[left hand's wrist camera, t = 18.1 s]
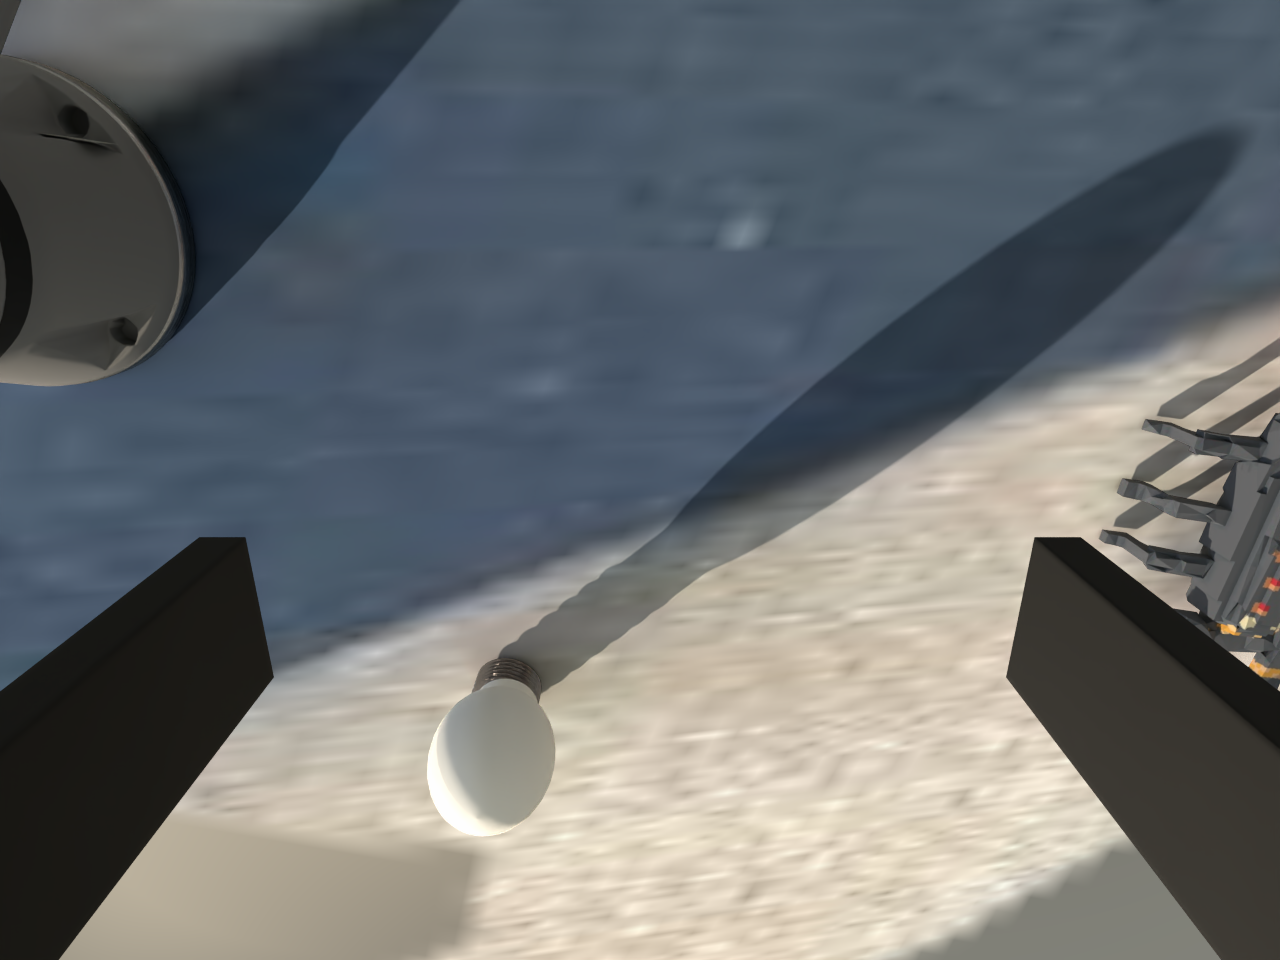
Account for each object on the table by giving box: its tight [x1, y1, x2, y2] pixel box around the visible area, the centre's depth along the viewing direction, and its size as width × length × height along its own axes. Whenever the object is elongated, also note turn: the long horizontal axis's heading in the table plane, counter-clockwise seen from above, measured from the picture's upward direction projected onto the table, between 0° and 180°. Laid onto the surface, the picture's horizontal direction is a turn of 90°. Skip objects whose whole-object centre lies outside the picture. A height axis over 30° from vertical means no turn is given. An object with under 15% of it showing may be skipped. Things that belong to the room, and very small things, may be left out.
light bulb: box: [427, 658, 555, 836], centre depth 42 cm, size 7×7×11 cm
